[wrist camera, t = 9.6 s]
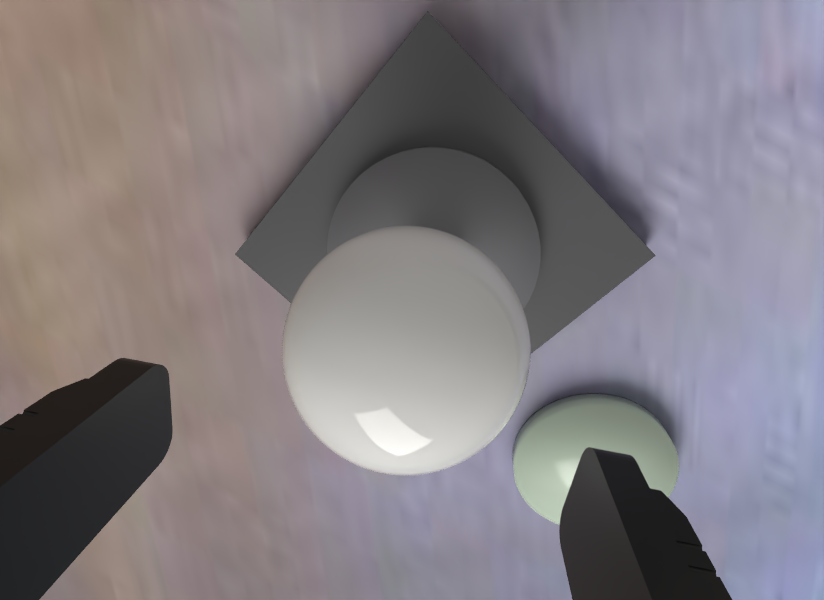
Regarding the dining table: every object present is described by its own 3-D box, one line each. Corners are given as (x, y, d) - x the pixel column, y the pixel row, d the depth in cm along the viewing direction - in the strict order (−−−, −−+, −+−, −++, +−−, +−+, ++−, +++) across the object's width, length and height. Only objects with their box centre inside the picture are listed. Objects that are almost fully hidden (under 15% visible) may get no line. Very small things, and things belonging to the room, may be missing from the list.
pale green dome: (483, 437, 25) (483, 449, 24) (623, 366, 22) (629, 377, 21) (561, 535, 26) (564, 550, 26) (698, 480, 24) (707, 494, 23)
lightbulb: (425, 149, 18) (355, 193, 8) (542, 256, 19) (620, 422, 9) (330, 265, 20) (180, 417, 10) (439, 355, 21) (403, 579, 11)
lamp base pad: (246, 247, 22) (226, 259, 21) (430, 17, 18) (425, 6, 16) (437, 414, 25) (434, 438, 23) (645, 247, 20) (662, 261, 18)
